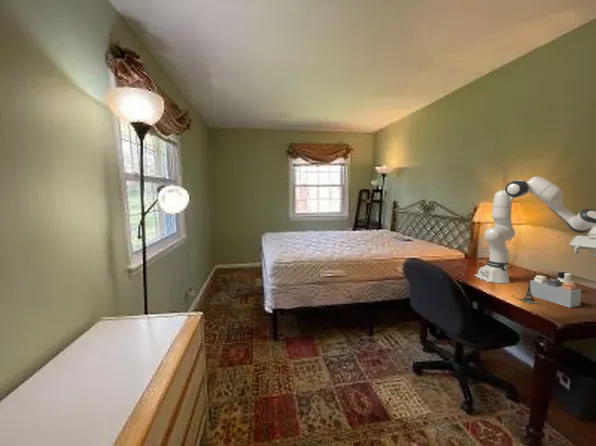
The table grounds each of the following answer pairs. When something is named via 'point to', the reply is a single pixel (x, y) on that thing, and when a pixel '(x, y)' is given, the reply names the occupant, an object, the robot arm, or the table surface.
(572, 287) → the button terracotta
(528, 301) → the eiffel tower figurine
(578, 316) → the table surface
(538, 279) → the button cream
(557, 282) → the button charcoal
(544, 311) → the table surface
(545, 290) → the button console
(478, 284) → the table surface
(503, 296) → the table surface
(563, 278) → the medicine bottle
